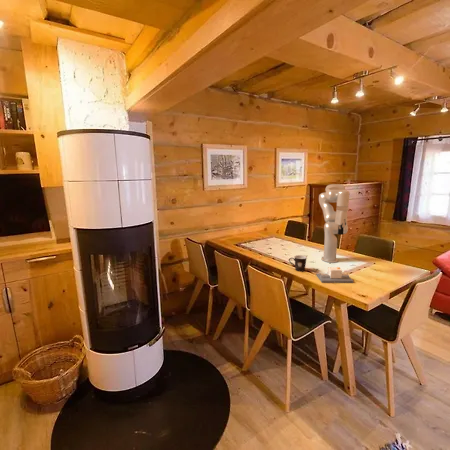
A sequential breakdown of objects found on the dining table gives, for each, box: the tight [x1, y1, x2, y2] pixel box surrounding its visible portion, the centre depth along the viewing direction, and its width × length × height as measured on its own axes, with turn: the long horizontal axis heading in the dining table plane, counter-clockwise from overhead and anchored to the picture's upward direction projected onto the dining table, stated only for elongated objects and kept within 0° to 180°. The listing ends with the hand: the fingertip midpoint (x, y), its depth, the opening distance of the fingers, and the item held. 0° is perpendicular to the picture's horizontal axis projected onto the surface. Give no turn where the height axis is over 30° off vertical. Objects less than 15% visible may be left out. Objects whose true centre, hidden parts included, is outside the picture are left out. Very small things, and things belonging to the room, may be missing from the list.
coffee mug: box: [288, 254, 307, 273], centre depth 200 cm, size 12×9×10 cm
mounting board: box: [316, 273, 354, 284], centre depth 182 cm, size 12×20×2 cm, turn 88°
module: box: [327, 266, 343, 278], centre depth 181 cm, size 6×7×6 cm
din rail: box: [319, 273, 350, 278], centre depth 182 cm, size 2×18×2 cm, turn 88°
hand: (340, 234), depth 192 cm, fingers closed
